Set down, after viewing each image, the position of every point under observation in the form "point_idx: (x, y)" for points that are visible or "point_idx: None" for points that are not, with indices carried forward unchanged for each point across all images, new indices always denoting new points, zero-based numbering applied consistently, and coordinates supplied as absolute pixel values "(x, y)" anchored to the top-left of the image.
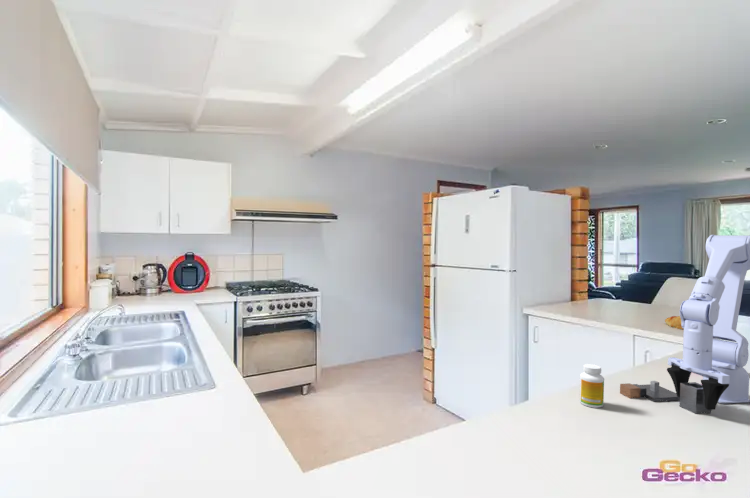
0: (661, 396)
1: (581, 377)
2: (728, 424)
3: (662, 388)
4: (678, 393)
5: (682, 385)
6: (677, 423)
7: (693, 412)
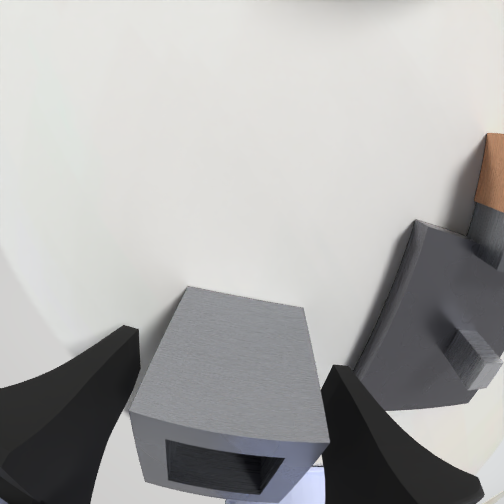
0: (414, 305)
1: None
2: (66, 301)
3: (440, 398)
4: (340, 378)
5: (301, 426)
6: (124, 32)
7: (202, 289)
